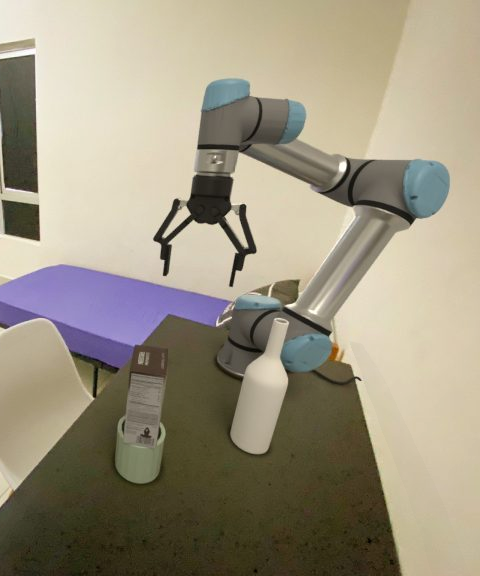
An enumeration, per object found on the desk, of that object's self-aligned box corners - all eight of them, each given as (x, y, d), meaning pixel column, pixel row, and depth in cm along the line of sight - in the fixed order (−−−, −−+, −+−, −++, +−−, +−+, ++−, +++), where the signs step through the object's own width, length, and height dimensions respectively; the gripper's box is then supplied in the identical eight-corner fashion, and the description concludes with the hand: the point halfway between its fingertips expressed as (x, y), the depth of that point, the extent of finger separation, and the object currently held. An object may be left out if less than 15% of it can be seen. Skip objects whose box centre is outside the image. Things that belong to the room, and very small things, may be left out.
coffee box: (127, 409, 69) (134, 342, 64) (158, 415, 68) (168, 347, 62) (122, 443, 61) (129, 369, 55) (157, 450, 60) (168, 375, 54)
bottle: (261, 461, 70) (299, 335, 59) (223, 439, 75) (252, 319, 64) (273, 440, 75) (310, 321, 64) (238, 421, 80) (266, 308, 69)
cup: (164, 454, 70) (169, 420, 67) (153, 491, 62) (159, 454, 59) (123, 439, 73) (126, 406, 70) (108, 472, 65) (110, 437, 62)
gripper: (144, 171, 65) (136, 275, 72) (289, 179, 56) (261, 295, 63) (154, 171, 71) (145, 266, 79) (284, 177, 62) (260, 283, 70)
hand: (197, 279), depth 71 cm, fingers open, 13 cm apart
